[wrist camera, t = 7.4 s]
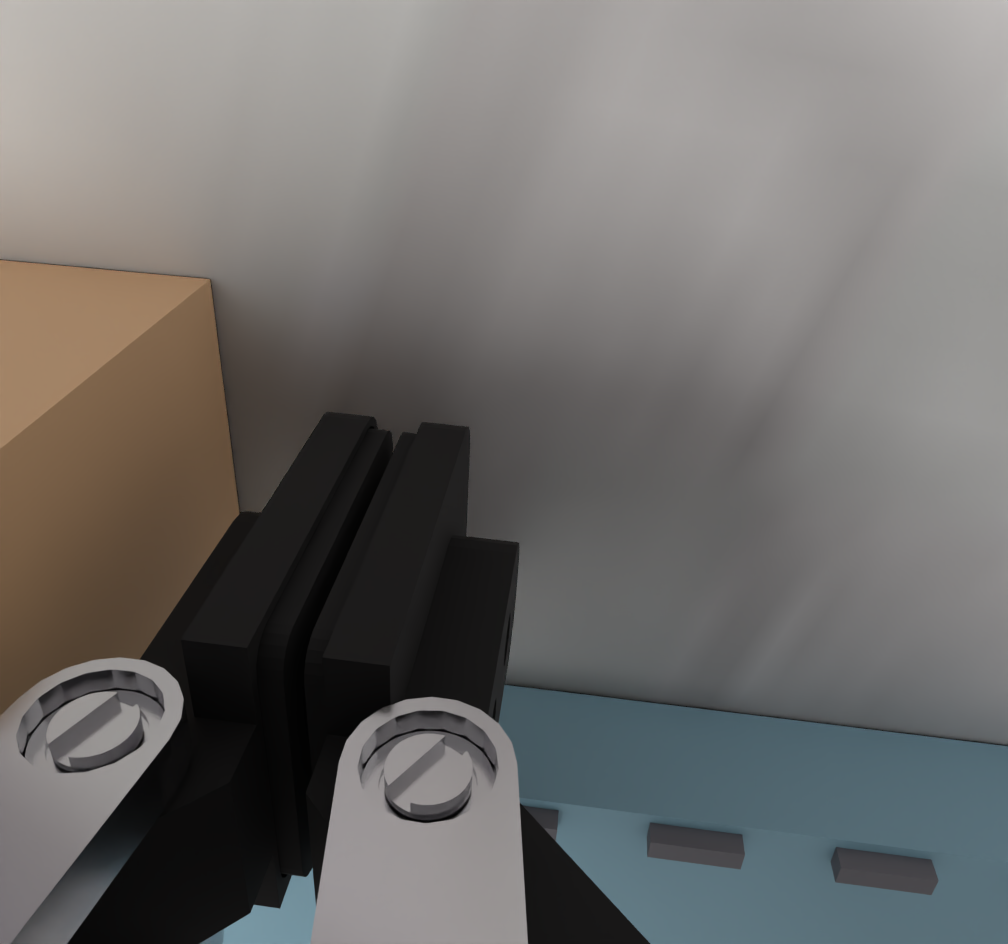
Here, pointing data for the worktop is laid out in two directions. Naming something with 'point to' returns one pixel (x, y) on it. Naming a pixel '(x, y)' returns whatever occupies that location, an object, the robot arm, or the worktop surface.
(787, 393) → the worktop surface
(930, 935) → the blue flat block
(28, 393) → the tan block
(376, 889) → the robot arm
